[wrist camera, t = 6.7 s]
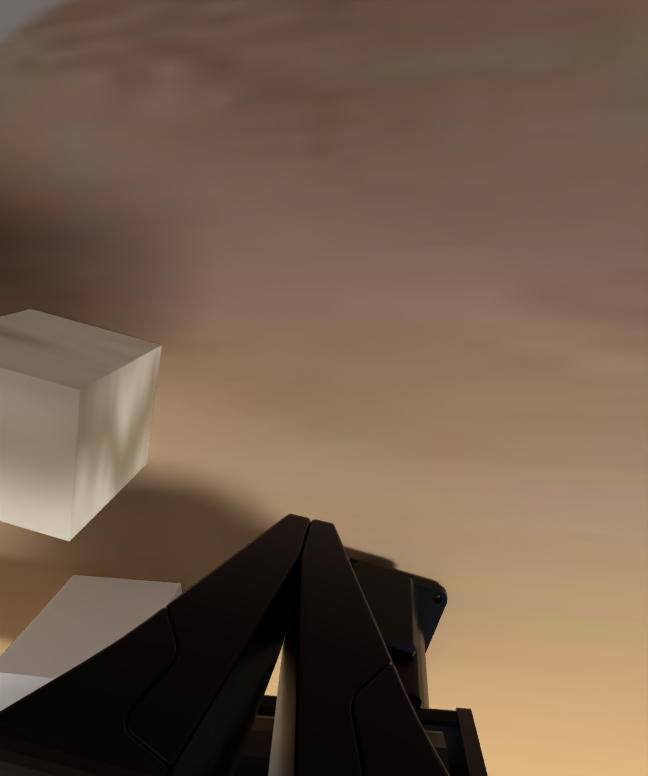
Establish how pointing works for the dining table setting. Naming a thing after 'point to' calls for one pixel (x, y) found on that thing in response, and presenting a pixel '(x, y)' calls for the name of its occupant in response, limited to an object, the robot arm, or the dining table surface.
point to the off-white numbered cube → (77, 629)
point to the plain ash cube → (70, 419)
